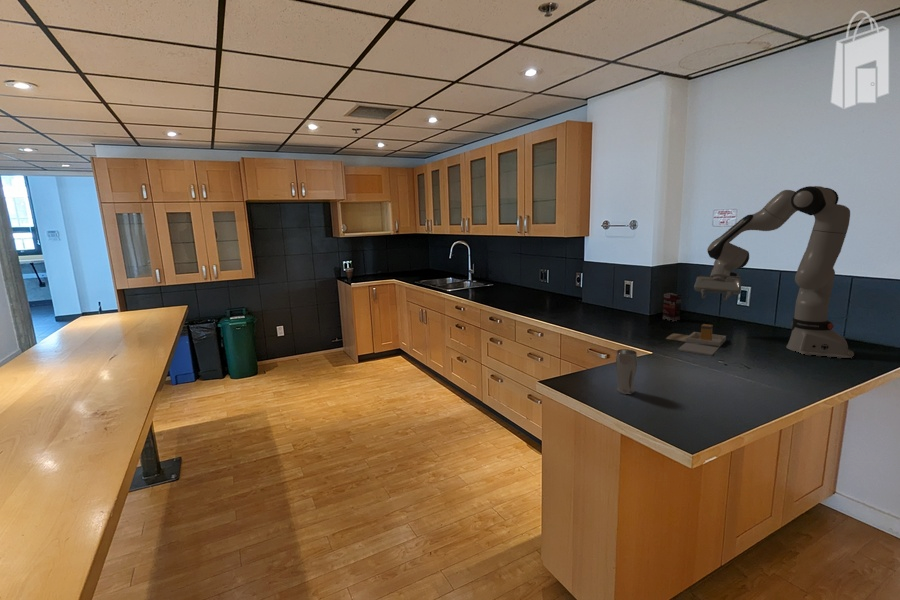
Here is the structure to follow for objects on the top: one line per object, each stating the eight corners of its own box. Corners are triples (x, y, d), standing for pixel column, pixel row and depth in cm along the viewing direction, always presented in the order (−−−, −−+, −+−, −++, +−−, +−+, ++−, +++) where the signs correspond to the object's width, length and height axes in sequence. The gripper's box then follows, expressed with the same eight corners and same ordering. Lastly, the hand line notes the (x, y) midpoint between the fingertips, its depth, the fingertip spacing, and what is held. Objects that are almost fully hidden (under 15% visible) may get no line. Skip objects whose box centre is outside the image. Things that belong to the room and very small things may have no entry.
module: (711, 340, 205) (712, 325, 203) (709, 342, 202) (710, 326, 200) (702, 339, 207) (703, 323, 206) (700, 341, 204) (701, 325, 203)
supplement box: (661, 319, 254) (663, 293, 251) (667, 318, 256) (668, 292, 253) (674, 321, 247) (676, 295, 244) (680, 320, 249) (681, 294, 246)
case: (725, 341, 205) (726, 335, 204) (712, 356, 185) (712, 349, 185) (693, 337, 214) (693, 331, 214) (677, 350, 195) (678, 344, 194)
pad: (691, 337, 214) (692, 335, 214) (685, 343, 205) (685, 341, 205) (672, 335, 220) (672, 333, 220) (665, 340, 212) (665, 338, 211)
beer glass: (618, 386, 157) (619, 347, 155) (638, 390, 153) (639, 350, 150) (612, 392, 152) (613, 352, 149) (632, 396, 148) (633, 356, 145)
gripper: (696, 271, 220) (690, 292, 215) (743, 274, 206) (737, 297, 201) (698, 278, 224) (691, 299, 219) (744, 282, 210) (738, 304, 205)
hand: (714, 298), depth 210 cm, fingers open, 8 cm apart
